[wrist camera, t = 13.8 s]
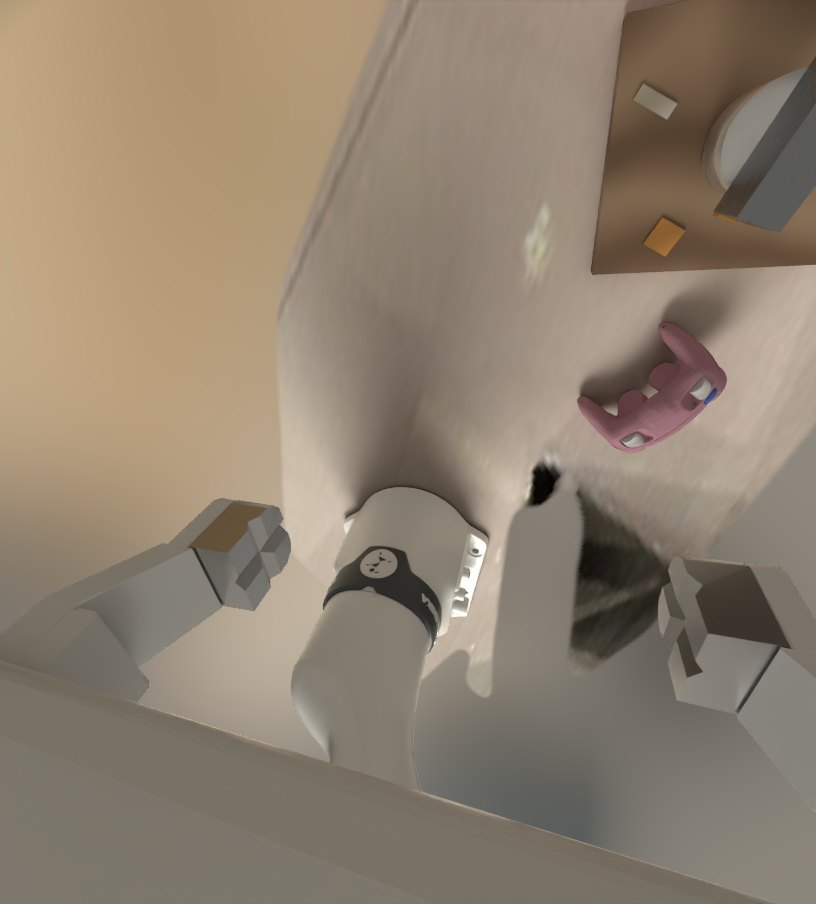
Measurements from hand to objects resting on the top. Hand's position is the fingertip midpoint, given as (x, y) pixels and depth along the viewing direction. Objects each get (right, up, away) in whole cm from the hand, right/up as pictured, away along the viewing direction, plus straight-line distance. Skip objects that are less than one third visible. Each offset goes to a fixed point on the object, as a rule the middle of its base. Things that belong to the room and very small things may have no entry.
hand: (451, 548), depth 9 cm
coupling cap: (+18, +19, +14) cm, 29 cm away
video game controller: (+19, +8, +27) cm, 34 cm away
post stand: (+19, +22, +18) cm, 34 cm away
